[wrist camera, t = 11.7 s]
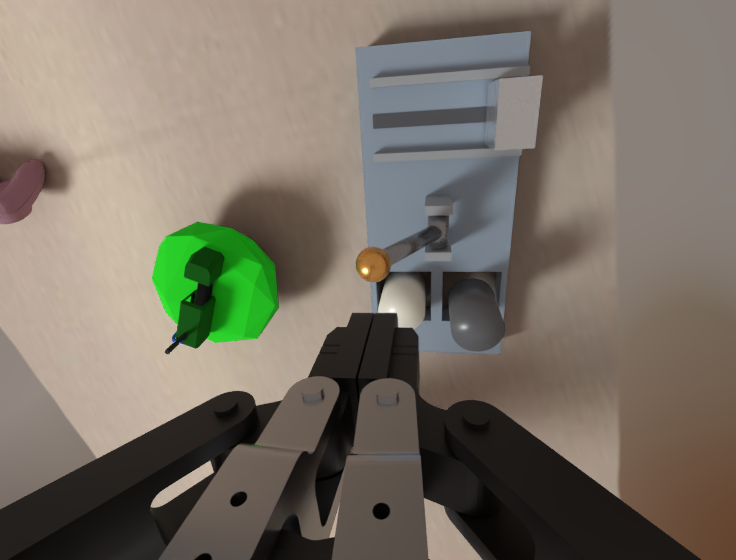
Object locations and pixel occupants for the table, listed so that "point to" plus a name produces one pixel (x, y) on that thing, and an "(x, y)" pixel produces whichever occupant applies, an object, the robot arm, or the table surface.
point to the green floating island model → (215, 285)
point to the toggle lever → (402, 249)
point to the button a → (404, 298)
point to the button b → (475, 315)
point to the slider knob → (513, 112)
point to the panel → (439, 161)
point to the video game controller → (21, 192)
